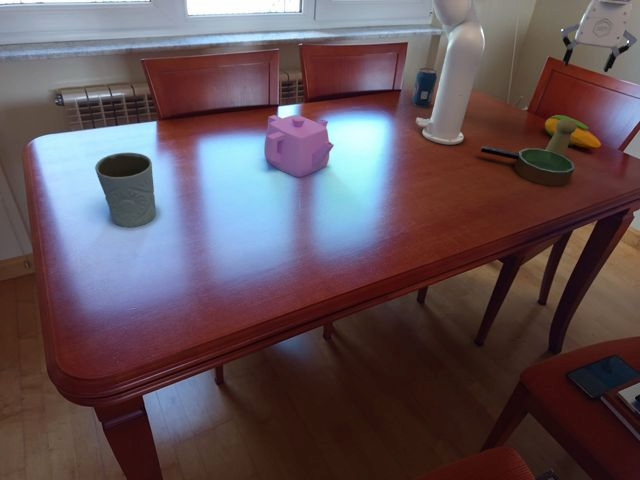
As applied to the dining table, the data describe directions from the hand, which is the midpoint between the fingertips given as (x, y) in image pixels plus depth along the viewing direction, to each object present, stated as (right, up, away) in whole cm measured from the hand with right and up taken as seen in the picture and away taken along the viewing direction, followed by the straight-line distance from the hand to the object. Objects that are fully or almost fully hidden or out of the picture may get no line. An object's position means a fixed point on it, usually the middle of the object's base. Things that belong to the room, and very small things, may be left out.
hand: (585, 67), depth 116 cm
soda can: (-34, +4, +44) cm, 55 cm away
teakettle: (-76, -26, -1) cm, 80 cm away
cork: (0, -20, +16) cm, 26 cm away
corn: (+9, -15, +24) cm, 30 cm away
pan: (-14, -26, +6) cm, 30 cm away
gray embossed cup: (-109, -41, -25) cm, 119 cm away
